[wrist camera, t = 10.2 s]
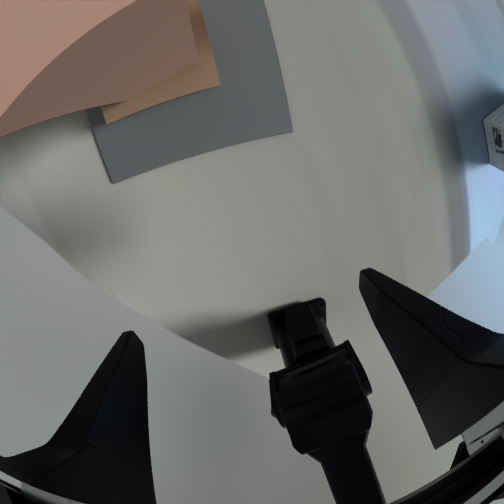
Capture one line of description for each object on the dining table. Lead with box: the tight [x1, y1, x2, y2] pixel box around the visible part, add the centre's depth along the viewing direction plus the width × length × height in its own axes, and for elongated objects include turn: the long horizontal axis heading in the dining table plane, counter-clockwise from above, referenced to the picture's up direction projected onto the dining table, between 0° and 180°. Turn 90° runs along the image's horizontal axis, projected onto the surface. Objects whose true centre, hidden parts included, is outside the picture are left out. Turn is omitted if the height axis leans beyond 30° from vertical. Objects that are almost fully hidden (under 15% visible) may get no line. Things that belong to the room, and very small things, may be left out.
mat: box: [87, 0, 293, 184], centre depth 15 cm, size 12×14×1 cm
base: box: [101, 0, 221, 124], centre depth 12 cm, size 7×7×4 cm
